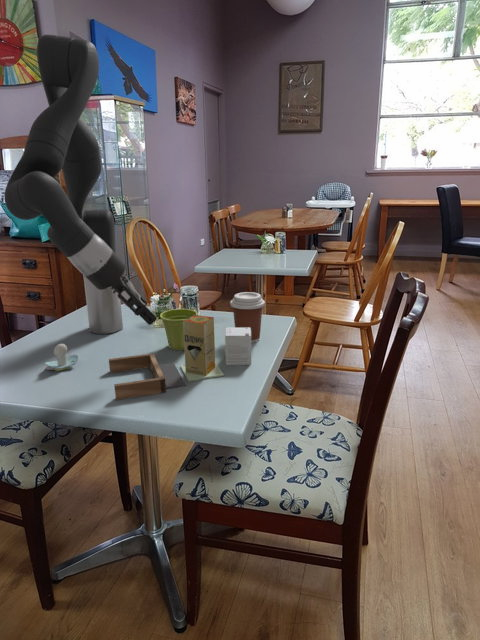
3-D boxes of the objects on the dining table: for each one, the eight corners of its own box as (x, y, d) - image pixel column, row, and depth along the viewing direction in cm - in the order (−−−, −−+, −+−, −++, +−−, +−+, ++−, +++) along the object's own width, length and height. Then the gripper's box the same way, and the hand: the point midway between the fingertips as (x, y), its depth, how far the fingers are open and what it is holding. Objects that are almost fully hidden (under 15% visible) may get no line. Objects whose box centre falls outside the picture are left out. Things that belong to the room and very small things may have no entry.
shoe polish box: (195, 364, 112) (193, 314, 108) (215, 367, 110) (213, 317, 106) (185, 372, 108) (183, 321, 104) (205, 375, 106) (203, 323, 102)
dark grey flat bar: (157, 367, 112) (157, 366, 112) (174, 364, 113) (174, 363, 113) (167, 388, 101) (166, 387, 101) (185, 385, 102) (185, 384, 102)
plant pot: (192, 354, 119) (191, 320, 116) (156, 351, 121) (154, 318, 118) (203, 341, 128) (202, 309, 125) (169, 339, 130) (167, 308, 127)
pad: (180, 367, 111) (180, 365, 111) (213, 362, 114) (213, 361, 114) (188, 381, 104) (188, 379, 104) (223, 375, 107) (223, 374, 106)
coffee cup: (266, 334, 133) (267, 291, 129) (262, 345, 124) (262, 300, 120) (234, 332, 134) (233, 290, 130) (227, 344, 126) (226, 299, 122)
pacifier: (40, 369, 112) (51, 376, 108) (36, 343, 110) (46, 349, 106) (70, 360, 117) (82, 366, 113) (67, 335, 115) (78, 341, 111)
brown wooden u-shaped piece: (109, 371, 110) (108, 359, 109) (153, 365, 113) (153, 353, 112) (116, 400, 96) (114, 386, 95) (166, 392, 99) (165, 378, 98)
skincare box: (226, 355, 118) (225, 327, 116) (251, 355, 118) (250, 326, 116) (225, 365, 112) (224, 335, 110) (251, 365, 112) (251, 335, 110)
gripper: (117, 258, 90) (170, 315, 99) (104, 239, 102) (153, 291, 111) (87, 285, 90) (143, 339, 99) (77, 262, 102) (128, 312, 111)
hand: (148, 313), depth 105 cm, fingers open, 8 cm apart
